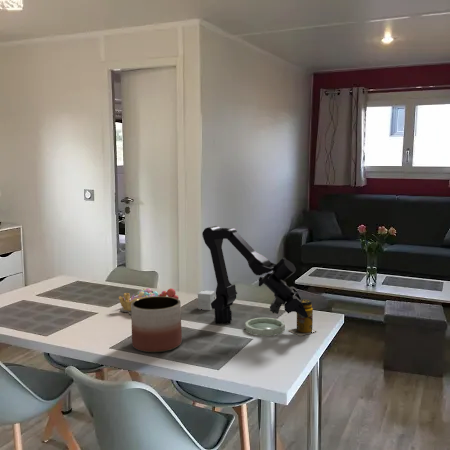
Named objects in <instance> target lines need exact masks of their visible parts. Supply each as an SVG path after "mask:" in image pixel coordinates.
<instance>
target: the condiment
mask: <svg viewBox="0 0 450 450" xmlns="http://www.w3.org/2000/svg"><path fill="white" fill-rule="evenodd" d="M301 302H302V304H303V306H304V308H305V310H306V313H307V315H308V317H307V318H305V317H303V316H302V315H300V314H298V313H296V328H292V329H288V331H289V332H291V333H292V334H295V335H297V336H300V337H302V336H305V335H309V334H311V335H312V334H314V333H313V332H312V330H313V331H316V332H315V333H317V332H318V331H317V330H314V329H313V315H314V314H313V312H314V309H313V307H312V304H313V302H312V300H310V299H304V298H303V299H302V298H301ZM311 332H312V333H311Z"/></svg>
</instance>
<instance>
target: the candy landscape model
mask: <svg viewBox="0 0 450 450" xmlns="http://www.w3.org/2000/svg"><path fill="white" fill-rule="evenodd" d="M154 296H166V297H173V298H176V299H178V300H180V299H179V296H178V295H177V293H176V290H175V289H174V288H168V289H167V290H162V292H161V293H158V291H153V290H152V289H151V288H149V287H148V288H142V290H138V291H137V295H135V294H133V295H131V294H130V293H129V292H124V293H123V296H122V295H119V296H118V299H119V303H120V306H121V307H122V308H121V309H120V312H121V313H122V312H125V313H128V315H131V303H132V302H133V301H135V300H138V299H141V298H146V297H154Z"/></svg>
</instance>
